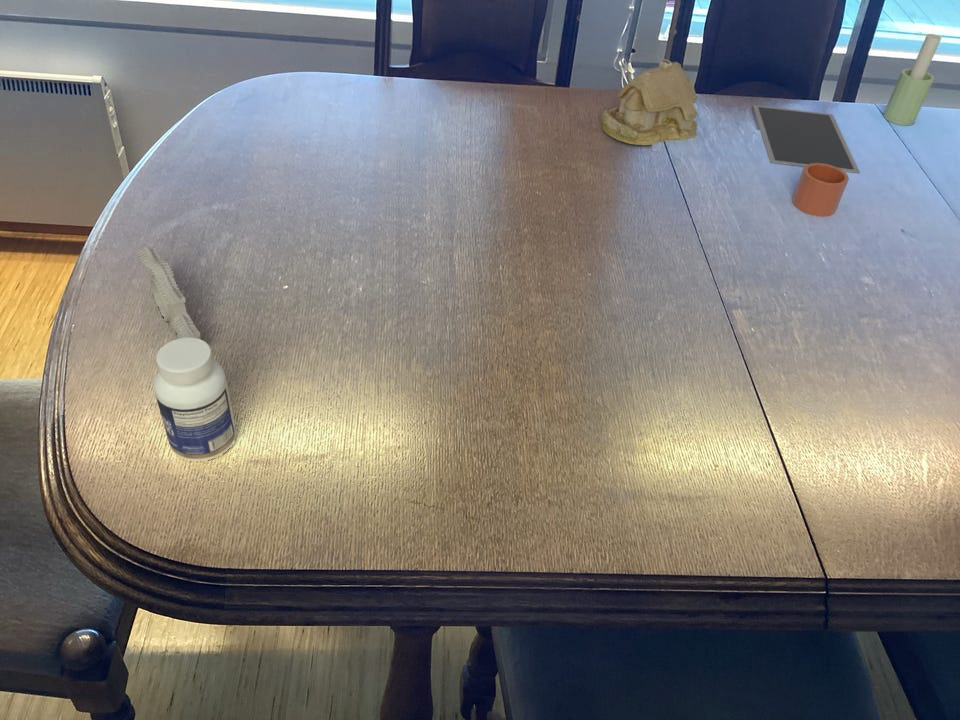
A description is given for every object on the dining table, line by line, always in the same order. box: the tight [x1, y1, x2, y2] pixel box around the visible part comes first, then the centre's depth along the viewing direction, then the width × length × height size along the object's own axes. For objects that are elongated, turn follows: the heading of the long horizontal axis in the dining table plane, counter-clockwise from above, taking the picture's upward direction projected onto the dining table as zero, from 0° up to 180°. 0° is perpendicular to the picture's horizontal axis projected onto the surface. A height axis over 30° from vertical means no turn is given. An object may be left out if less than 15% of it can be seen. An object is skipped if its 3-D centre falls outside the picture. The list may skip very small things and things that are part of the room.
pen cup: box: [882, 67, 935, 126], centre depth 124 cm, size 5×5×7 cm
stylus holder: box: [791, 163, 850, 218], centre depth 102 cm, size 5×5×5 cm
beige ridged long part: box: [137, 245, 202, 340], centre depth 77 cm, size 12×2×6 cm, turn 33°
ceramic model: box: [600, 58, 698, 146], centre depth 114 cm, size 14×11×10 cm
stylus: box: [909, 33, 942, 80], centre depth 122 cm, size 2×2×12 cm
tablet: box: [751, 104, 861, 175], centre depth 118 cm, size 12×18×1 cm, turn 173°
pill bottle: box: [153, 337, 237, 461], centre depth 65 cm, size 5×5×10 cm
